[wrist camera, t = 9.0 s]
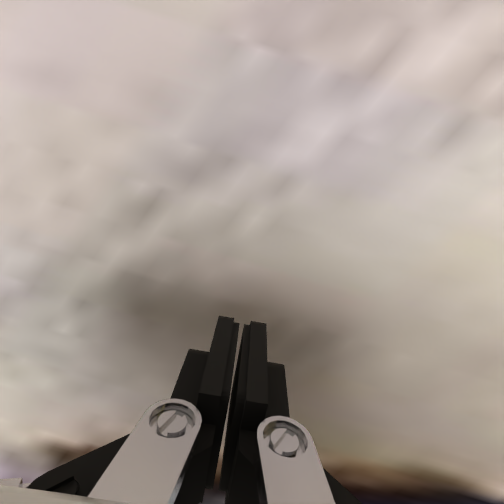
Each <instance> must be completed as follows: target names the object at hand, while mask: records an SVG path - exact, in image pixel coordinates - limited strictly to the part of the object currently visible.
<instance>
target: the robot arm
mask: <svg viewBox="0 0 504 504" xmlns="http://www.w3.org/2000/svg"><path fill="white" fill-rule="evenodd" d="M238 331H239V323H234V318H229V317H223V316H219V318H218V322H217V325H216V329H215V333H214V337H213V340H212V344H211V348H210V352H205V351H199V350H193V349H189V351H188V353H187V356H186V358H185V361H184V364H183V367H182V369H181V372H180V375H179V377H178V380H177V383H176V385H175V388H174V391H173V393H172V396H171V399H165V400H161V401H158V402H156V403H155V404H153V405H151V406H150V407H149V408H148V409H147V410H146V411H145V413H144V414H143V416H142V417H141V419H140V420H139V422H138V423H137V425H136V426H135V428H134V429H133V431H132V432H131V433H130V434H128V435H126V436H124V437H122V438H120V439H117V440H115V441H113V442H111V443H109V444H107V445H105V446H102V447H100V448H98V449H96V450H94V451H92V452H89V453H87V454H85V455H83V456H81V457H79V458H77V459H74V460H72V461H70V462H68V463H66V464H64V465H61V466H59V467H57V468H55V469H53V470H51V471H48V472H47V473H45V474H43V475H42V476H40V477H38V478H36V479H35V480H34V481H33V482H32V483H26V484H22V478H11V479H0V504H198V503H200V502H202V501H203V495H204V490H205V488H207V489H213V484H214V479H215V474H216V468H217V463H218V457H219V452H220V447H221V441H222V436H223V431H224V425H225V420H226V414H227V409H228V403H229V397H230V391H231V383H232V376H233V368H234V361H235V353H236V346H237V338H238ZM219 490H220V491H226V497H225V504H362V503H361V502H360V501H359V500H358V499H356V498H355V497H354V496H353V495H352V494H351V493H350V492H349V491H348V490H347V489H346V488H344V487H343V486H342V485H341V484H340V483H339V482H338V481H337V480H336V479H335V478H333V477H332V476H331V475H330V474H329V473H328V472H327V471H326V470H325V469H324V468H323V467H322V464H321V461H320V458H319V455H318V453H317V450H316V447H315V444H314V441H313V438H312V437H311V435H310V433H309V431H308V430H307V429H306V428H305V427H304V426H303V425H302V424H300V423H299V422H297V421H296V420H294V419H291V418H290V417H289V407H288V397H287V388H286V378H285V368H284V365H282V364H276V363H270V362H267V335H266V324H264V323H259V322H253V321H251V323H250V325H246V324H244V328H243V333H242V339H241V344H240V349H239V355H238V360H237V365H236V371H235V376H234V381H233V387H232V393H231V399H230V407H229V415H228V422H227V430H226V438H225V445H224V453H223V461H222V469H221V476H220V484H219Z"/></svg>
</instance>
